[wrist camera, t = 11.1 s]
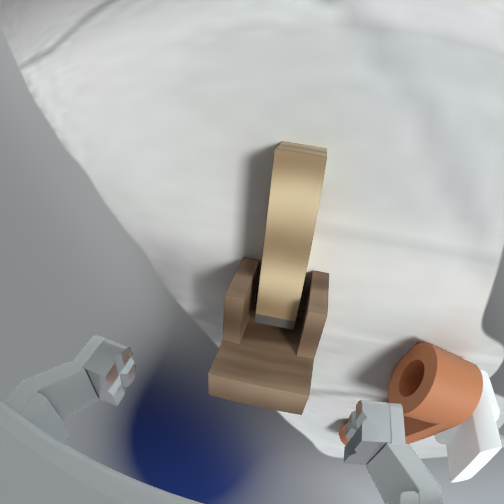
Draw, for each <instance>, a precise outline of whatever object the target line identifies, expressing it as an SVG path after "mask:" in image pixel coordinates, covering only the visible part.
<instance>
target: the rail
mask: <svg viewBox="0 0 504 504" xmlns="http://www.w3.org/2000/svg"><path fill="white" fill-rule="evenodd" d="M326 160H327V148H322V147H316V146H310V145H304V144H297V143H291V142H284V141H282V142H281V143H280V145H279V146H278V147H277V148H276V149H275V152H274V161H273V170H272V179H271V188H270V197H269V205H268V214H267V223H266V231H265V240H264V248H263V257H262V265H261V274H260V282H259V290H258V299H257V307H256V315H255V322H257V323H262V324H267V325H271V326H276V327H281V328H287V329H292V330H294V325H295V321H296V317H297V312H298V308H299V303H300V299H301V294H302V289H303V285H304V280H305V275H306V270H307V265H308V260H309V255H310V250H311V245H312V240H313V235H314V229H315V224H316V219H317V213H318V208H319V202H320V196H321V190H322V184H323V178H324V172H325V166H326Z"/></svg>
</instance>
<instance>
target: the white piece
mask: <svg viewBox="0 0 504 504" xmlns="http://www.w3.org/2000/svg"><path fill="white" fill-rule="evenodd" d="M480 371H481V373H482V377H483V390H482V395H481V398H480V401H479V403H478V405H477V407H476V409H475V410H474V412H473V413H472V415H471V416H470V417H469V418H468V419H467V420H466V421H464V422H463V423H462V424H460V425H458V426H455V427H453V428H450V429H448V430H445V431H443V432H440V433H438V434H435V439H436V441H437V442H439V443H441V444H446V446H447V454H448V462H449V471H450V482H459V481H463V480H467V479H470V478H472V477H473V476H474V475H475V474H476V473H477V472H478V471H479V470H480V469H481V468H482V467H483V466H484V465H485V464H486V463H487V462H488V461H489V460H490V459H491V458H492V457H493V456H494V455H495V454H496V453H497V452H498V451H499V450H500V449H501V448H502V445H501V441H500V436H499V432H498V428H497V424H496V421H497V419H498V417H499V414H500V411H499V408H498V404H497V401H496V398H495V395H494V391H493V389H492V386H491V382H490V379H489V377H488V374H487V373H486V372H485V371H484V370H481V369H480Z"/></svg>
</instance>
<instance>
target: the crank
mask: <svg viewBox="0 0 504 504" xmlns="http://www.w3.org/2000/svg"><path fill="white" fill-rule="evenodd" d="M482 390H483V377H482V373H481V371H480V369H479V368H478V367H477V366H476V365H475V364H473V363H471V362H469V361H466V360H464V359H462V358H460V357H458V356H455V355H453V354H451V353H449V352H446V351H444V350H442V349H440V348H438V347H435V346H433V345H431V344H429V343H426V342H422V343H418V344H416V345H414V346H413V347H412V348H411V349H410V351H409V352H408V353H407V354H406V355H405V356H404V357H403V358H402V359H401V360H400V361H399V362H398V364H397V366H396V368H395V370H394V372H393V374H392V377H391V380H390V384H389V389H388V402H389V403H396V404H401V405H402V407H403V417H404V429H405V443H406V444H409V443H412V442H415V441H418V440H421V439H424V438H427V437H430V436H432V435H435V434H438V433H440V432H443V431H445V430H448V429H450V428H453V427H455V426H458V425H460V424H462V423H463V422H464V421H466V420H467V419H468V418H469V417H470V416H471V415H472V413H473V412H474V410H475V409H476V407H477V405H478V403H479V401H480V398H481V395H482ZM346 427H347V423H346V424H345V425H344V426H342V427H341V429H340V431H339V436H340V439H341V441H342V442H343V443H344V444H345V445H347V443H348V442H349V441H348V439H347V438H346Z"/></svg>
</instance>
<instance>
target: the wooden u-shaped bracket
mask: <svg viewBox="0 0 504 504" xmlns="http://www.w3.org/2000/svg"><path fill="white" fill-rule="evenodd" d="M258 267H259V260H254V259H249V258H243V259H242V261H241V263H240V265H239V267H238V269H237V271H236V273H235V275H234V277H233V279H232V281H231V283H230V285H229V287H228V289H227V291H226V293H225V298H224V322H223V341H222V343H221V345H220V348H219V351H218V353H217V355H216V357H215V359H214V362H213V364H212V366H211V369H210V371H209V373H208V379H209V395H213V396H216V397H220V398H224V399H229V400H232V401H236V402H240V403H245V404H249V405H254V406H258V407H263V408H268V409H273V410H278V411H283V412H288V413H294V414H300V415H302V412H303V410H304V407H305V405H306V402H307V400H308V397H309V394H310V386H311V378H312V370H313V361H314V356H315V353H316V350H317V347H318V344H319V341H320V338H321V334H322V331H323V328H324V325H325V321H326V318H327V312H328V289H329V273H324V272H318V271H313V273H312V277H311V282H310V286H309V291H308V295H307V299H306V304H305V308H304V312H297V317H296V321H295V325H294V330H292V329H287V328H281V327H276V326H271V325H267V324H262V323H257V322H255V315H256V307H257V303H254V302H255V294H256V285H257V276H258Z"/></svg>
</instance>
